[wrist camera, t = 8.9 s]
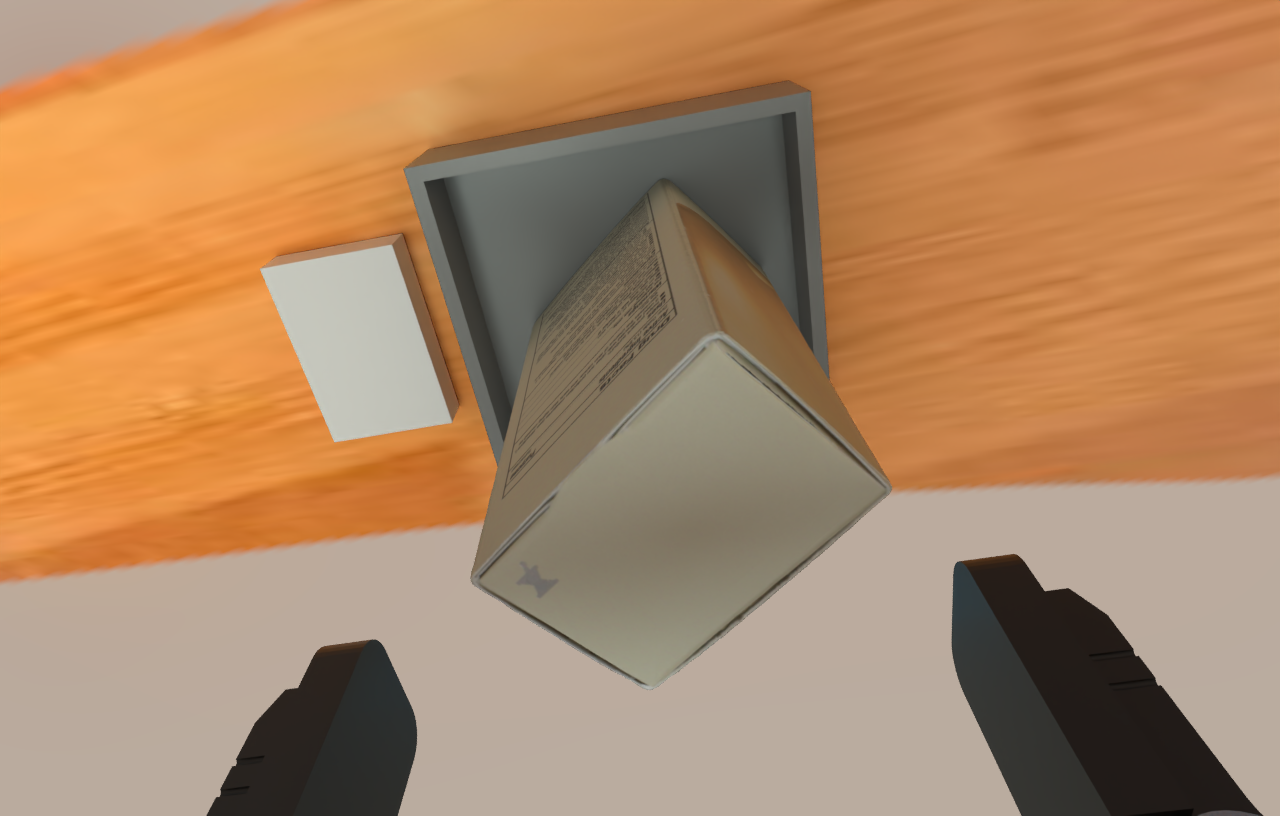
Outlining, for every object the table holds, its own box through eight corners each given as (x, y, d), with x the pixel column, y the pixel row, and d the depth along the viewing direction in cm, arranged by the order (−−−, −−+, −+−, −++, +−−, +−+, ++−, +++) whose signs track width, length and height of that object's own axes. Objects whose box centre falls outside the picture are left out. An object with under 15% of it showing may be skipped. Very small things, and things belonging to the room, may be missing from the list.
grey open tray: (788, 80, 21) (810, 91, 19) (813, 403, 26) (833, 446, 24) (246, 184, 22) (199, 207, 20) (368, 477, 27) (342, 525, 25)
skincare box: (633, 404, 25) (641, 710, 14) (528, 323, 24) (449, 595, 13) (774, 262, 23) (911, 497, 12) (669, 162, 21) (716, 329, 11)
